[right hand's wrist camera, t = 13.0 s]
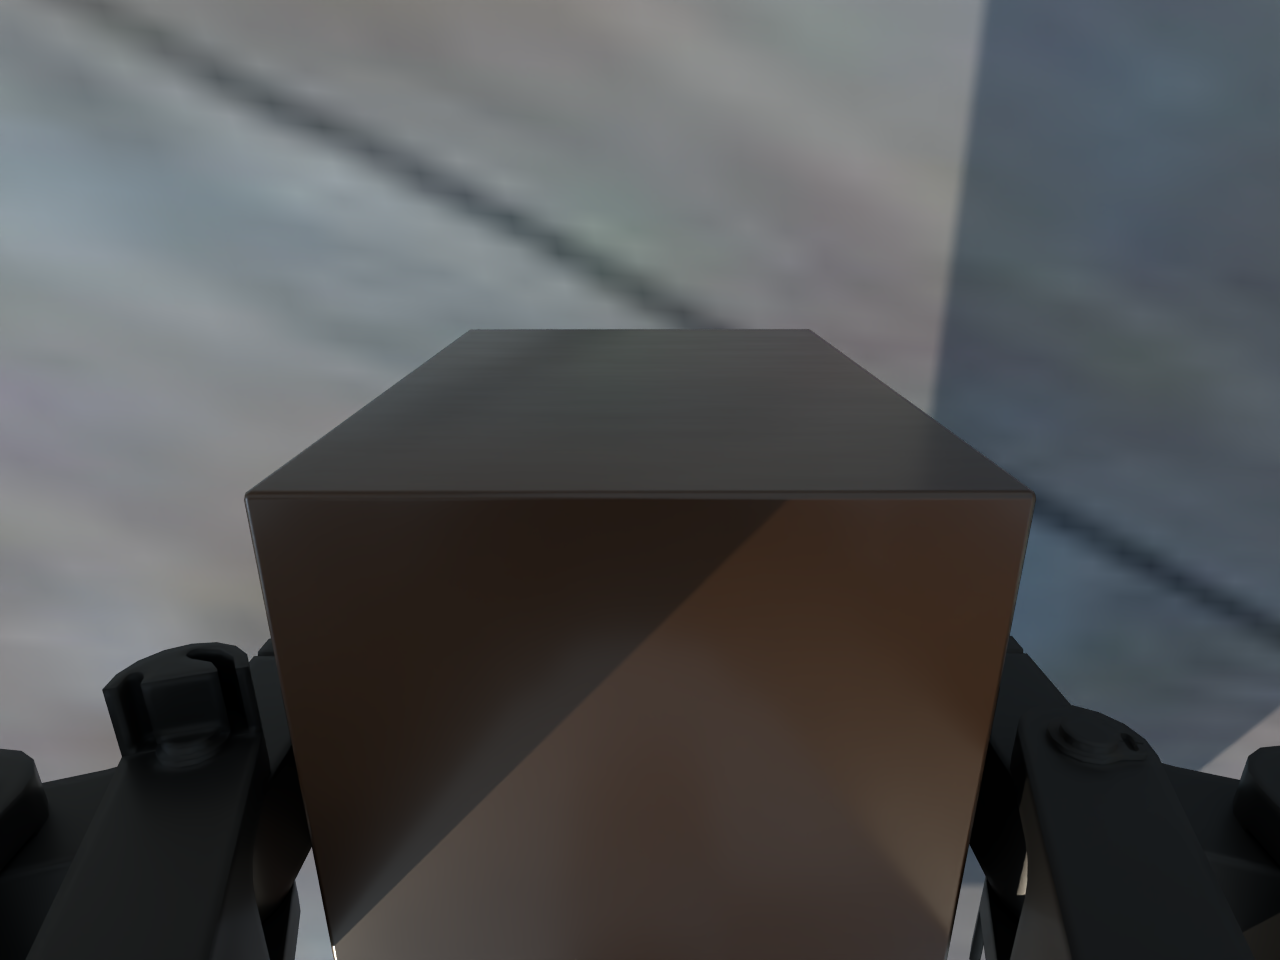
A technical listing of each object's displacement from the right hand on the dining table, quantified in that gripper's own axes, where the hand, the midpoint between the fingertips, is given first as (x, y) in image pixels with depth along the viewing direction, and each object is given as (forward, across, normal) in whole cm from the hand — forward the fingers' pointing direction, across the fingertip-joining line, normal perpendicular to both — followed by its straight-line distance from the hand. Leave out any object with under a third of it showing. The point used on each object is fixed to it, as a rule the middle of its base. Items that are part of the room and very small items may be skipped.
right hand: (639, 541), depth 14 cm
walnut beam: (0, 0, -12) cm, 12 cm away
